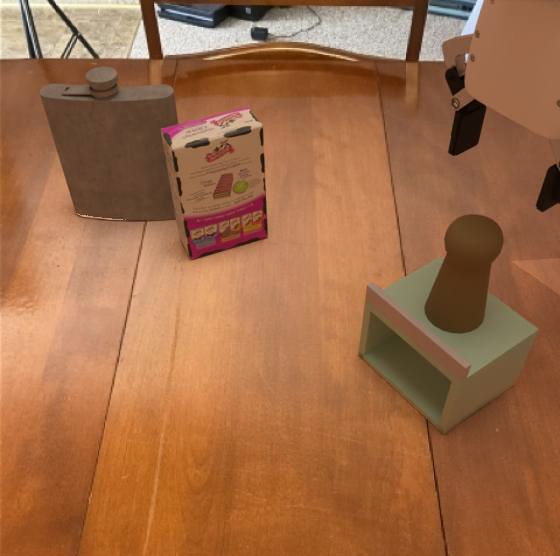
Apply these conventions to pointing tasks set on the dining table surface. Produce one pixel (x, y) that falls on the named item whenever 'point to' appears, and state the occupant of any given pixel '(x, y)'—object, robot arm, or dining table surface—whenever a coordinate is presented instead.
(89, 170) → the hip flask
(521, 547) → the dining table surface
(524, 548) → the dining table surface
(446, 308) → the brown pawn
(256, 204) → the candy bar box
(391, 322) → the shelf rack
